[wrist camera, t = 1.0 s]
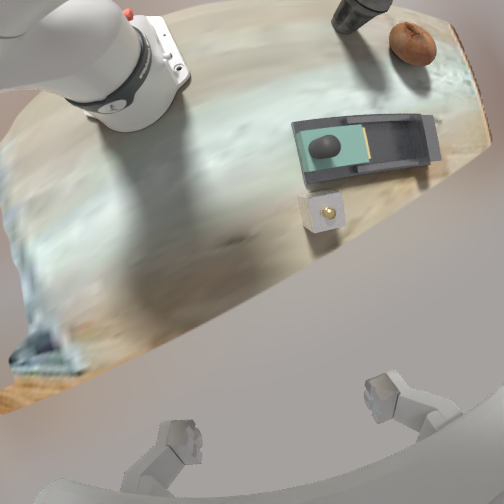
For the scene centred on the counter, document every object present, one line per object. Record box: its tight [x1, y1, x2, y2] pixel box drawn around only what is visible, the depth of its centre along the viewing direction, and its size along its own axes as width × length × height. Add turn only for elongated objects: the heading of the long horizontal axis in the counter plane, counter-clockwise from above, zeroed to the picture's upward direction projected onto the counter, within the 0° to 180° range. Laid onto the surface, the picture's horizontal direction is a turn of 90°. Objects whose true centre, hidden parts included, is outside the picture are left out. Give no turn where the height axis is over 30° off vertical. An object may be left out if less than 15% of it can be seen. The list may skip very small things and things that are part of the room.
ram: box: [296, 124, 371, 172], centre depth 35 cm, size 6×11×8 cm, turn 103°
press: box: [291, 114, 441, 185], centre depth 37 cm, size 10×26×6 cm, turn 103°
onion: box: [389, 22, 436, 66], centre depth 31 cm, size 10×9×10 cm
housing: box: [297, 190, 346, 233], centre depth 39 cm, size 5×5×7 cm
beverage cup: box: [331, 0, 393, 34], centre depth 24 cm, size 7×7×20 cm
